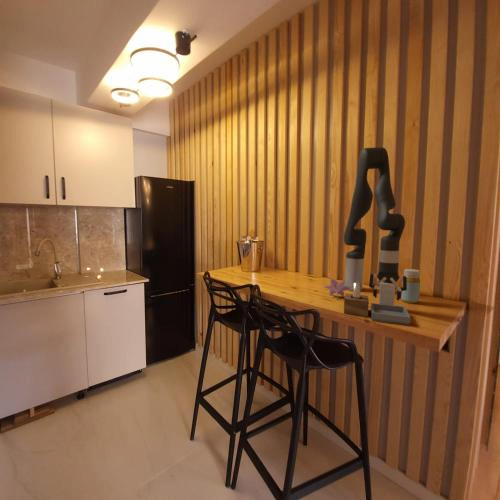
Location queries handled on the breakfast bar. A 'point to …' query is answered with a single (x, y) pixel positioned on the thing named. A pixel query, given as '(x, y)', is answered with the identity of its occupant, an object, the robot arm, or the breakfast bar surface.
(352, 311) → the bore block
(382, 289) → the supplement box
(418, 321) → the breakfast bar surface
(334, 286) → the lily
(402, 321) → the tray
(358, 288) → the pin gauge
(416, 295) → the bottle
